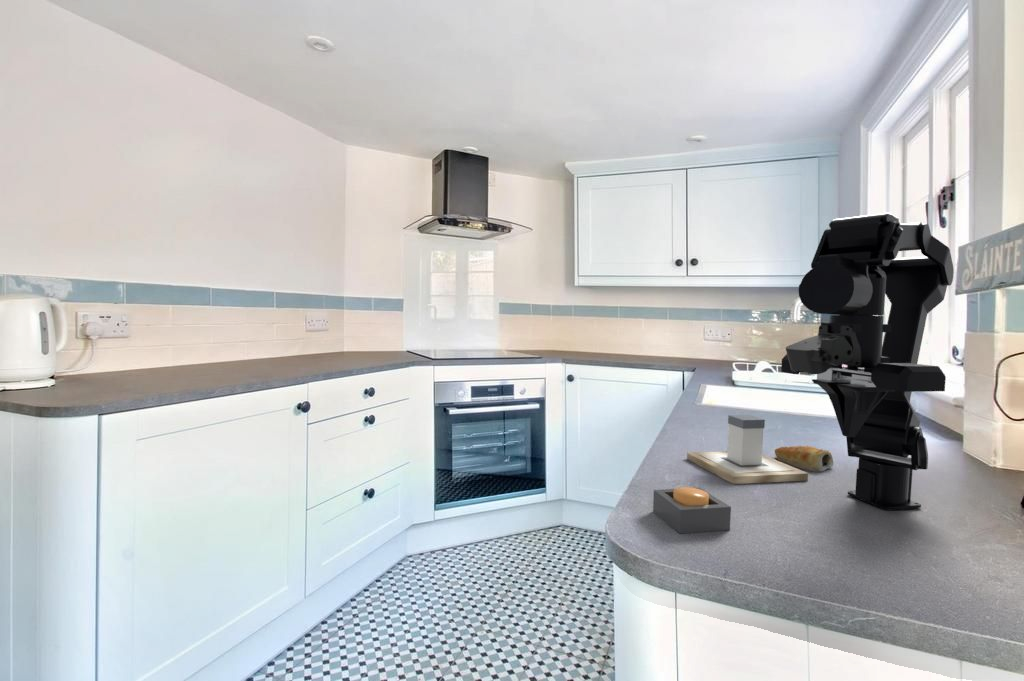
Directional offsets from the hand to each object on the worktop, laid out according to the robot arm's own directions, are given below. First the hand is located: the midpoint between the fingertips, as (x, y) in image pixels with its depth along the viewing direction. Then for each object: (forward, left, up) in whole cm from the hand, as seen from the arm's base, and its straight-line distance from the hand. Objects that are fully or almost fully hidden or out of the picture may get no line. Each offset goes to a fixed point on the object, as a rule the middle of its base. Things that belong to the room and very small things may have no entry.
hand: (848, 436), depth 64 cm
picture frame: (-3, -24, -12) cm, 27 cm away
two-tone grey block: (-3, -24, -11) cm, 26 cm away
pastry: (-17, -25, -12) cm, 32 cm away
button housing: (+19, -5, -12) cm, 23 cm away
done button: (+19, -5, -11) cm, 22 cm away
